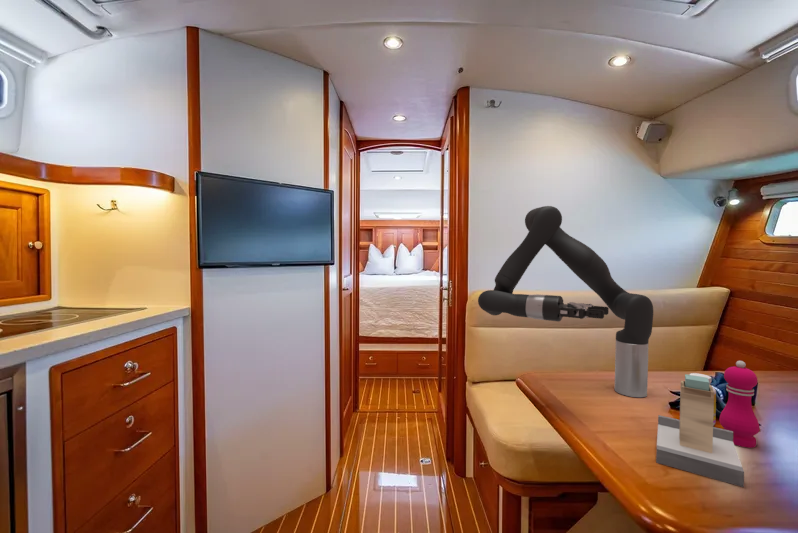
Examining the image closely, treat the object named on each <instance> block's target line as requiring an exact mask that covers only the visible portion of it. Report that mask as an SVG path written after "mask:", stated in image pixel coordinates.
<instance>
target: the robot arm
mask: <svg viewBox="0 0 798 533" xmlns="http://www.w3.org/2000/svg"><path fill="white" fill-rule="evenodd" d="M562 221H563V216H562V213H561V211H560V209H558V208H557V207H555V206H552V205H545V206H540V207H535V208H533V209H531V210H530V211H527V214H526V215H525V218H524V224H525V227H526V229H527V231H528V233H527V235H526V236H525V237H524V239H523V241H522V242H521V243H520V244H519V246H518V247H517V248H516V249H515V250H513V252H512V253H511V254H510V255H509V257H508V258H507V259H505V261H504V262H503V265H502V266H501V267H500V269H499V271H498V272H497V274H496V276H495V278H494V283H495V285H494V288H493V289H492V290H491V289H490V290H489V289H488V290H485V291H482V292H481V293H480V294H479V296H478V297H477V299H478V300H477V304H478V306H479V307H480V309H481V310H482V311H484V312H486V313H487V314H489V315H491V316H499V315H501V314H503V313H504V314H509V315H511V316H514V317H521V318H530V319H532V320H541V321H551V322H558V323H559V322H561V321H562V320H563V318H574V319H580V320H583V319H587V318H591V319H600V320H602V319H604V318H605V315H606V316H607V315H609V310H610V311H611V312H612V313H613V315H615V316H616V317H617V318H619V319H622V320H624V326H623V328H622V329H620V330H618V331H616V333H615V352H614V353H615V357H614V358H615V359H614V367H615V368H614V391H615V392H616V393H618V394H619V395H623V396H626V397H632V398H646V397H647V396H648V380H649V379H648V377H649V371H648V370H649V340H650V337H651V335H652V333H653V323H654V322H653V321H654V306H653V303H652V301H651V299H650V297H648V296H646V295H645V294H644V295H643V294H640V293H639V294H638V293H632V292H631V293H630V292H628V291H627V290H626V289H624V288H622V287H621V286H620V285H619V284H618V283H617V282H616V281H615V280H614V278H613V277H612V274H611V272H610V269H609V267H608V264H607V263H606V262H605V260H604V259H603V258H602V257H601V256H600V255H599V254H598V253H597V252H596V251H595V250H593V248H591V247H590V246H588V245H586V244H585V243H583V242H582V241H580V240H578V239H576V238H574V237H573V236H571V235H570V234H569V233H567V232H566V231H564V230H563V229H562V228H561V225H562V223H563V222H562ZM544 246H547V247H548V248H549V249H550V250H551V251H552V252H553V253H554V254H555V255H556V256H557V257H558V259H560V260H561V262H563V263H564V264H565V265H566V266H567V268H569V269H570V270H571V271H572V272H573V273H574V274H575V276H577V277H578V278H579V279H580V280H581V281H582V282H583V283H584V284H586V285H587V286H588V287H589V289H591V290H592V291H593V292H594V293H595V294H597V296H598V297H599V298H600V299H601V300H602V302H603V303H604V304H605V305H606V306H602V305H593V304H592V303H582V302H580V303H579V302H573V301H572V302H571V301H570V302H567V304H566V303H564V299H563V297H562V296H561V295H551V294H550V295H549V294H524V293H514V289H516V286H518V284H519V282H520V281H521V279H522V277H523V275H525V272H526V271H527V269H528V268H529V266H530V265H531V263H532V262H533V261H534V259H535V258H536V256H537V255H538V254H539V252H540V251H541V250H542V248H543V247H544Z"/></svg>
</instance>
